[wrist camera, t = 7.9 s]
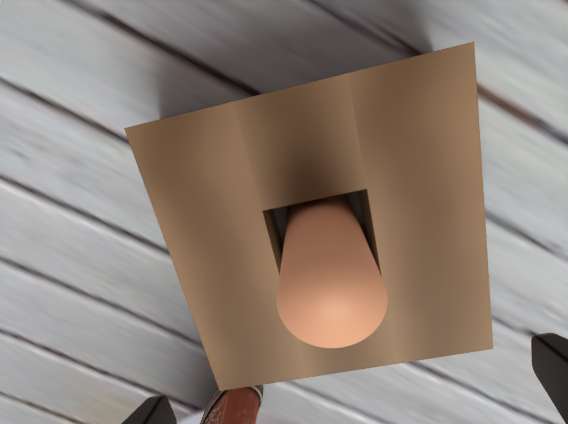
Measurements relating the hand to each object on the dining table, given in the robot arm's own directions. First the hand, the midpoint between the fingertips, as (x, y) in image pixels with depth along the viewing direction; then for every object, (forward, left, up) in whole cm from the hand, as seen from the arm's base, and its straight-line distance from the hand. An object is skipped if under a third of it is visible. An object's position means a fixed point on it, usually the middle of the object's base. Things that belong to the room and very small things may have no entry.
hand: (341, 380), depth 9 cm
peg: (0, 0, -11) cm, 11 cm away
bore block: (0, 0, -12) cm, 12 cm away
